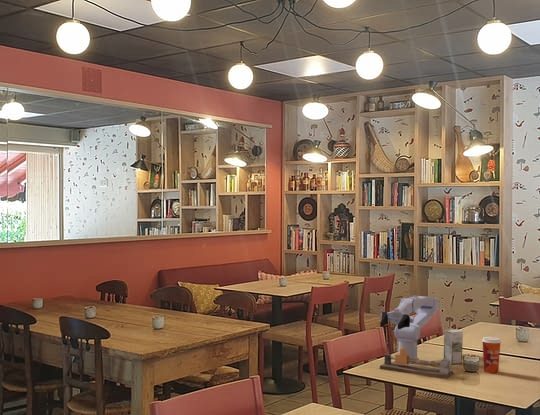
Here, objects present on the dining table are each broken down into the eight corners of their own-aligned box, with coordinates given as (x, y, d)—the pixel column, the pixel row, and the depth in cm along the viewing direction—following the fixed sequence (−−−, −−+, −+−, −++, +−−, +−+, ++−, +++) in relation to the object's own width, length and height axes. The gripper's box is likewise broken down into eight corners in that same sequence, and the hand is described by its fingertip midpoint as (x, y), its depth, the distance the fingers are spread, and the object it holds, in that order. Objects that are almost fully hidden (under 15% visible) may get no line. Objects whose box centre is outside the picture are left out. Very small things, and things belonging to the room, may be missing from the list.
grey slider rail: (388, 364, 280) (388, 350, 281) (453, 373, 266) (453, 359, 266) (379, 368, 272) (380, 354, 272) (446, 378, 257) (446, 363, 257)
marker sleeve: (398, 361, 275) (398, 346, 275) (409, 363, 272) (410, 348, 272) (394, 363, 272) (395, 348, 272) (406, 365, 269) (406, 350, 269)
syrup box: (454, 360, 290) (454, 328, 290) (462, 363, 284) (463, 330, 284) (443, 361, 288) (443, 328, 288) (451, 364, 282) (452, 331, 282)
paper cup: (488, 374, 266) (488, 340, 266) (477, 370, 273) (478, 336, 273) (504, 373, 268) (505, 339, 268) (493, 369, 275) (494, 336, 275)
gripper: (385, 302, 285) (372, 315, 274) (416, 306, 277) (405, 319, 266) (386, 317, 286) (374, 330, 275) (418, 321, 279) (406, 334, 268)
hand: (389, 326), depth 271 cm, fingers open, 7 cm apart
